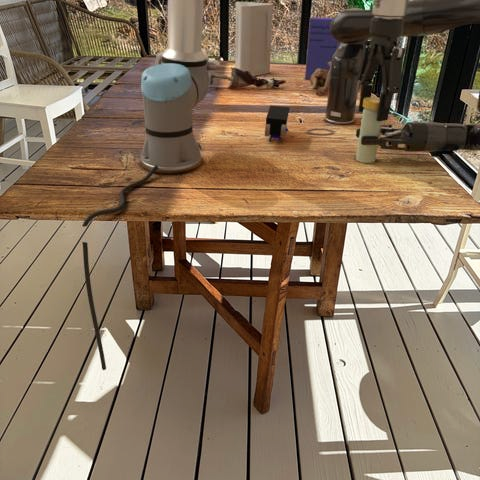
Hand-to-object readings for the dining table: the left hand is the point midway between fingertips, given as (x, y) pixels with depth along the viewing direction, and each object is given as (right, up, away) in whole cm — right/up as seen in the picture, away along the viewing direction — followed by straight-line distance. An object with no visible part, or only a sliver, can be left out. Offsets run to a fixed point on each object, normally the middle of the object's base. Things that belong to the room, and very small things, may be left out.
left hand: (372, 115), depth 121 cm
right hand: (-3, -5, +3) cm, 6 cm away
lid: (0, +3, -2) cm, 4 cm away
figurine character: (-23, -1, +21) cm, 31 cm away
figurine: (-31, +30, +71) cm, 83 cm away
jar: (0, -10, +6) cm, 12 cm away
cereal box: (+4, +39, +88) cm, 96 cm away
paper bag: (-28, +45, +97) cm, 110 cm away
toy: (-58, +50, +104) cm, 129 cm away
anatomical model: (-2, +27, +68) cm, 73 cm away
